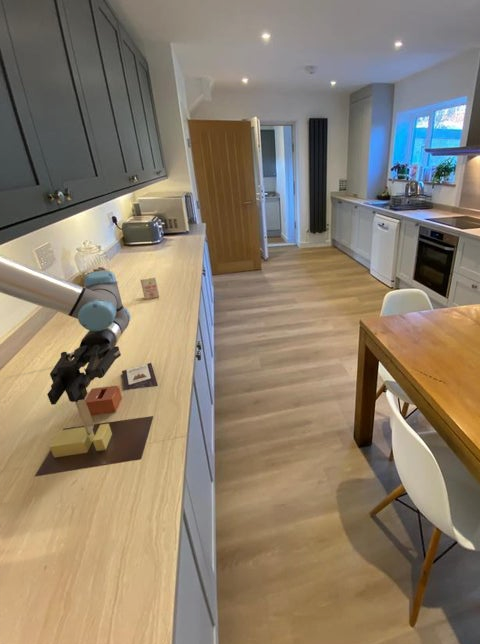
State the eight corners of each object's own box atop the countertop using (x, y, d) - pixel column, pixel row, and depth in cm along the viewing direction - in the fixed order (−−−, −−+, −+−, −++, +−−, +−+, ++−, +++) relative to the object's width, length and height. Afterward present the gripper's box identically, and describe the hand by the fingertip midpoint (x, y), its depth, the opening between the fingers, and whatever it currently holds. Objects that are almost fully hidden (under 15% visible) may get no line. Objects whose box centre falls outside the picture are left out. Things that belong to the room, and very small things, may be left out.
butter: (54, 457, 75) (49, 446, 74) (63, 440, 79) (59, 430, 78) (87, 452, 76) (83, 441, 75) (94, 436, 81) (91, 425, 79)
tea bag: (144, 297, 165) (140, 278, 161) (158, 294, 167) (155, 276, 163) (144, 299, 162) (140, 281, 158) (159, 297, 164) (155, 278, 160)
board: (36, 481, 71) (34, 476, 71) (64, 432, 84) (63, 428, 83) (142, 463, 75) (141, 459, 75) (154, 419, 88) (153, 415, 87)
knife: (81, 436, 75) (55, 369, 67) (86, 426, 78) (61, 361, 70) (95, 434, 76) (71, 367, 68) (100, 424, 79) (77, 359, 71)
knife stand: (89, 420, 88) (83, 402, 85) (97, 405, 93) (91, 388, 91) (117, 416, 89) (111, 399, 87) (123, 401, 94) (118, 385, 92)
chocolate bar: (126, 403, 92) (121, 370, 106) (127, 406, 92) (122, 373, 106) (160, 392, 96) (151, 362, 110) (160, 395, 97) (151, 365, 111)
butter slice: (96, 451, 77) (92, 440, 75) (103, 435, 81) (100, 424, 80) (105, 449, 77) (101, 439, 76) (112, 433, 81) (108, 423, 80)
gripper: (136, 348, 90) (108, 406, 69) (72, 355, 87) (23, 418, 66) (130, 324, 87) (99, 378, 66) (63, 330, 84) (9, 388, 63)
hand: (61, 397), depth 66 cm, fingers closed on knife, 3 cm apart
